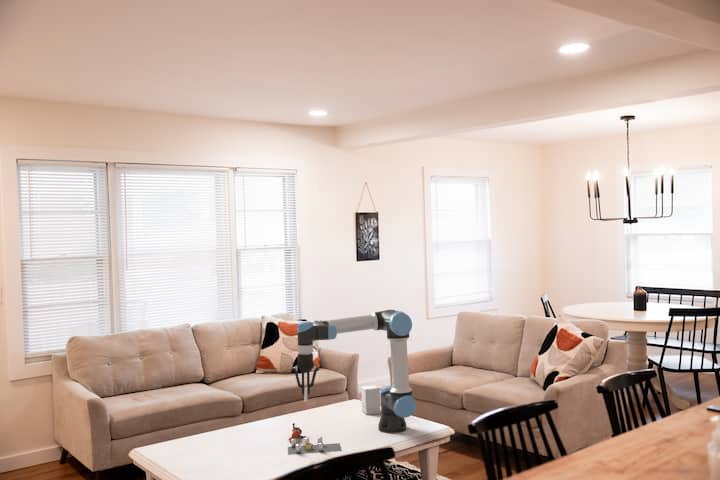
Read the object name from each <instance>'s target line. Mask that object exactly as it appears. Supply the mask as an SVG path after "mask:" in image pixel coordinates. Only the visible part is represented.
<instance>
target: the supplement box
mask: <svg viewBox="0 0 720 480" xmlns="http://www.w3.org/2000/svg"><path fill="white" fill-rule="evenodd" d="M360 389H361V391H360V392H361V394H360V395H361V412H362V413H363V414H365V415H366V416H367V415H368V416H369V415H377V414H381V394H380V393H381V388H380V387H378V386H377V385H375V384H373V385H362V386H361V387H360Z"/></svg>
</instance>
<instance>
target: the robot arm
mask: <svg viewBox="0 0 720 480" xmlns="http://www.w3.org/2000/svg"><path fill="white" fill-rule="evenodd" d="M412 328H413V322H412V318H411V317H410V316H409V315H408V314H407V313H405V312H403V311H400V310H395V309H386V310H381V311H375V312H371V314H367V315H359V316H352V317H344V318H337V319H335V318H334V319H329V320H328V319H327V320H321V321H318V320H315V321H309V320H308V321H307V320H306V321H305V320H304V321H299V322H298V323H297V363H296V365H295V366H292V371H293V372H294V375H295V380H296V383H297V387H298V388H301V395H303V400H304V403H307V402H308V395H310V394H311V393H310V389H311V388H312V387H314V384H315V380H316V376H317V372H318V370H319V366H318V365H317V366H316V365H315V363H314V354H313V352H314V341H331V340H335V339H336V338H337V335H339V334H344V333H346V334H347V333H352V332H360V331H369V330H373V331H386V339H387V340H388V341H389V342H390V343H389V344H390V345H389V346H390V361H391V363H390V364H391V365H390V366H391V380H392V384H391V385H386V386H382V387H381V388H380V414H381V415H380V418H379V420H378V424H377V425H378V428H377V429H378V431H380V432H381V433H387V434H391V433H392V434H395V433H396V434H397V433H401V432H405V431H406V430H407V427H408V425H407V421H406V419H405V418H409V417H410V416H412V415H413V414H414V413H415V411H416V410H417V409H416V408H417V402H416V400H415V398H414V397H413V389H412V387H410V381H409V363H408V362H409V361H408V344H407V343H408V339H409V338H410V332H411V331H412ZM312 369H313V373H312V377H311V376H310V373H311V371H312ZM298 370H299V371H300V372H301V382H300V378H299V372H298ZM305 373H306V387H305ZM310 377H311V379H310Z"/></svg>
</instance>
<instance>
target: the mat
mask: <svg viewBox="0 0 720 480" xmlns="http://www.w3.org/2000/svg"><path fill="white" fill-rule="evenodd" d="M323 449H324V451H323V452H319V448H318V444H313V449H312V450H309V451H306V450H304V445H301V453H300V454H299V455H304V454H306V455H307V454H319V453H320V454H321V453H331V452H332V453H333V452H334V453H335V452H342V451H343V450H342V446H341V443H323ZM287 455H289V456H290V455H291V456H292V455H297V454H296V448H292V447H291V446H287Z"/></svg>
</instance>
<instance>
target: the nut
mask: <svg viewBox="0 0 720 480" xmlns="http://www.w3.org/2000/svg"><path fill="white" fill-rule="evenodd" d="M313 445H314V444H313V443H312V442H309V443H305V442H304V444H303V446H304V450H306V451H309V450H312V449H313Z"/></svg>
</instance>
